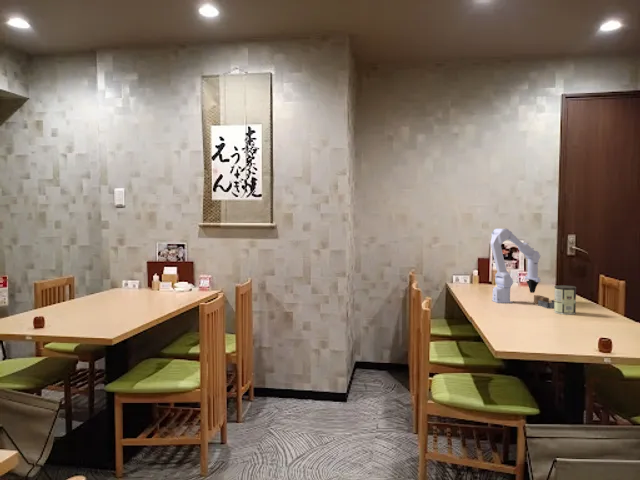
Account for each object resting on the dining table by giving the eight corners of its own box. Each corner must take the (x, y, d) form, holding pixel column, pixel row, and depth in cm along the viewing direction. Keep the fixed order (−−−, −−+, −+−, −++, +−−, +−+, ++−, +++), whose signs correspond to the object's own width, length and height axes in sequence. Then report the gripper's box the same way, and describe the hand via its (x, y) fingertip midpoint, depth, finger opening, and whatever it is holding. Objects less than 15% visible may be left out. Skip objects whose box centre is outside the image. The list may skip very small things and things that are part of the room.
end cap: (537, 305, 275) (537, 300, 275) (552, 305, 275) (553, 300, 275) (546, 308, 265) (546, 302, 265) (562, 308, 266) (562, 302, 266)
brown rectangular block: (548, 305, 275) (548, 298, 275) (542, 305, 274) (543, 298, 274) (539, 302, 285) (539, 295, 284) (533, 302, 284) (534, 295, 284)
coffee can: (563, 310, 259) (564, 284, 258) (580, 314, 250) (581, 287, 249) (549, 311, 255) (550, 285, 255) (565, 315, 246) (566, 288, 245)
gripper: (545, 271, 282) (545, 294, 283) (532, 268, 297) (532, 290, 297) (534, 271, 282) (533, 294, 282) (521, 269, 296) (521, 290, 297)
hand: (532, 292), depth 290 cm, fingers closed
